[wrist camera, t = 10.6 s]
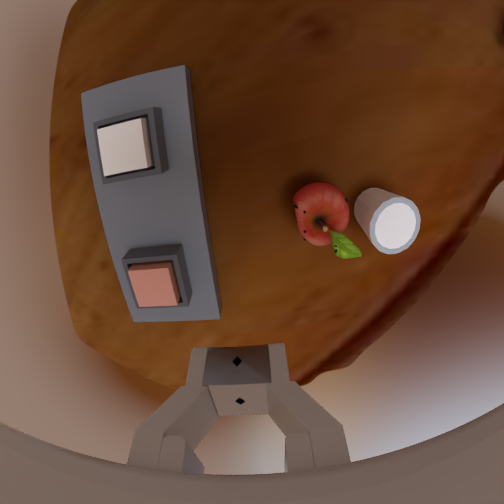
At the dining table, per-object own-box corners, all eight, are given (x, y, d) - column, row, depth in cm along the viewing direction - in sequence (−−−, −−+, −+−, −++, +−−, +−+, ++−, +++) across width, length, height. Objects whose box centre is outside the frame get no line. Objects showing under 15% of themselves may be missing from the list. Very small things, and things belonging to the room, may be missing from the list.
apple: (276, 217, 36) (287, 252, 27) (297, 167, 33) (317, 184, 24) (330, 237, 37) (355, 275, 28) (352, 190, 34) (386, 216, 25)
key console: (92, 94, 28) (67, 92, 23) (189, 69, 28) (178, 59, 22) (139, 310, 42) (127, 335, 36) (221, 306, 41) (218, 333, 36)
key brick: (136, 259, 33) (127, 271, 31) (173, 255, 33) (167, 267, 31) (145, 293, 36) (139, 306, 33) (182, 291, 35) (177, 305, 33)
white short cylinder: (388, 234, 37) (411, 256, 31) (344, 229, 37) (363, 252, 30) (399, 187, 34) (427, 202, 28) (354, 178, 34) (377, 192, 27)
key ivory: (109, 128, 27) (96, 129, 24) (150, 118, 26) (140, 118, 24) (115, 171, 29) (104, 176, 26) (156, 163, 29) (147, 167, 26)
